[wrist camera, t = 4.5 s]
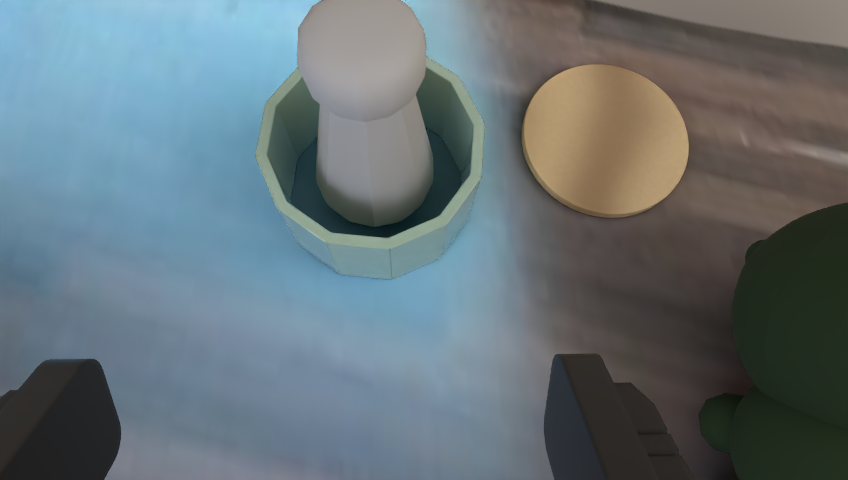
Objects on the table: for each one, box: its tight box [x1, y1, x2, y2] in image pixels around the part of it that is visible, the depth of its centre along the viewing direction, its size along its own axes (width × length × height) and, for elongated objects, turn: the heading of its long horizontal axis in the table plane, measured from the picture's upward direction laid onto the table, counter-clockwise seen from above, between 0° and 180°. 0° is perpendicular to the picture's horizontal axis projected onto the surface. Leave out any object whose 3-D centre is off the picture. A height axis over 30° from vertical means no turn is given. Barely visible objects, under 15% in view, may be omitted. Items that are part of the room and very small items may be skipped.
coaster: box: [522, 64, 689, 218], centre depth 31 cm, size 9×9×1 cm
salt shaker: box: [297, 0, 434, 227], centre depth 24 cm, size 6×6×13 cm
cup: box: [255, 56, 485, 279], centre depth 28 cm, size 10×10×6 cm
